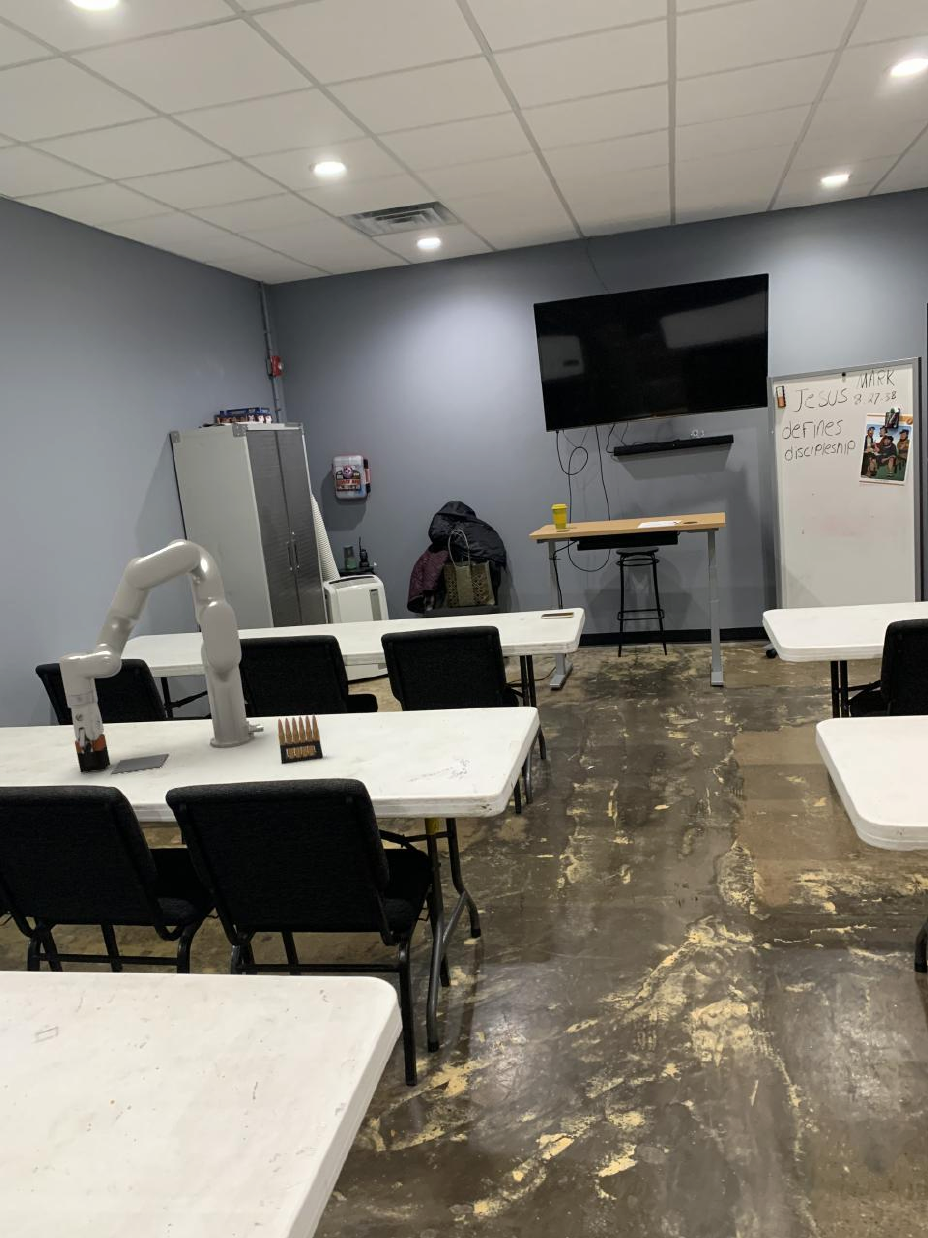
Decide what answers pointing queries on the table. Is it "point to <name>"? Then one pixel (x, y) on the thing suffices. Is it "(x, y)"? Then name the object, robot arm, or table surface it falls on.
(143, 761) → the mat
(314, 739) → the ammunition clip
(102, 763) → the battery
